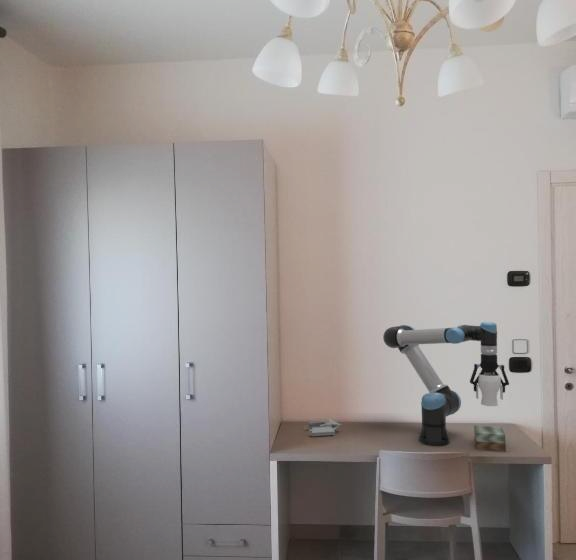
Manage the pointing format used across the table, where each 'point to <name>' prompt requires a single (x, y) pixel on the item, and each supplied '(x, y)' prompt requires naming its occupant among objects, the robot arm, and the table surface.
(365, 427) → the table surface
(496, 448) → the tower base
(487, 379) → the cup
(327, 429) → the spaceship toy
